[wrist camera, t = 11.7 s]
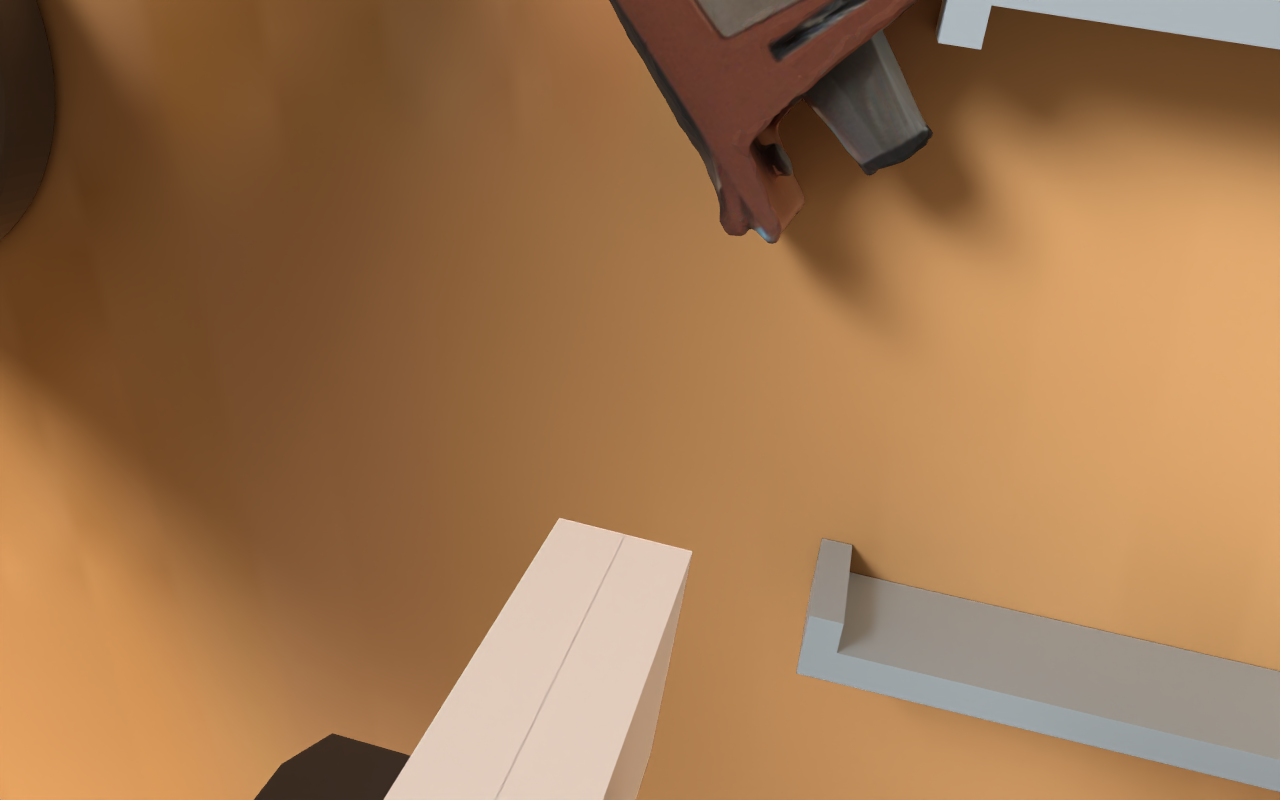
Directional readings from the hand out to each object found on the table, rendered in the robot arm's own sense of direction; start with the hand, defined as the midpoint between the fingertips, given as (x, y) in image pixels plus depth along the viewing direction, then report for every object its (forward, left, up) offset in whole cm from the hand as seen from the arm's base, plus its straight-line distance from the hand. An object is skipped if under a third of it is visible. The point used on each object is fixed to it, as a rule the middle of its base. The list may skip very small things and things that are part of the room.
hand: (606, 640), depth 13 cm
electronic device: (-4, +1, -19) cm, 19 cm away
